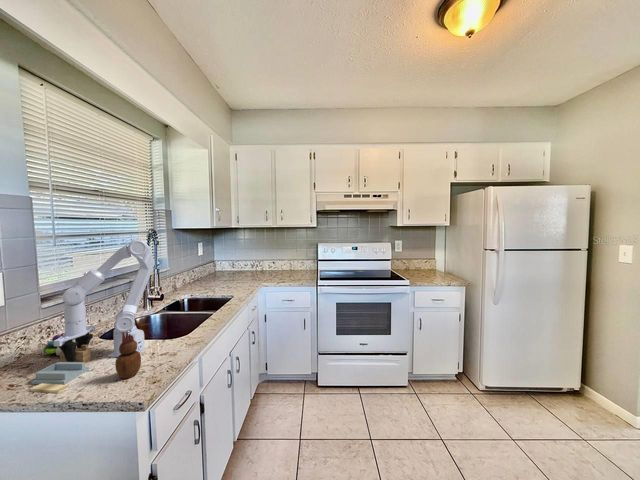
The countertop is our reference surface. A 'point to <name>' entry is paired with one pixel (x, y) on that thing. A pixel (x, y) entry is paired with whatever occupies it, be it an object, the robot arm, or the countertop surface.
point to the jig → (60, 373)
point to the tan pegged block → (79, 354)
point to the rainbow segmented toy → (51, 348)
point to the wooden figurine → (128, 357)
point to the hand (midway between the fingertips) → (76, 358)
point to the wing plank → (49, 388)
